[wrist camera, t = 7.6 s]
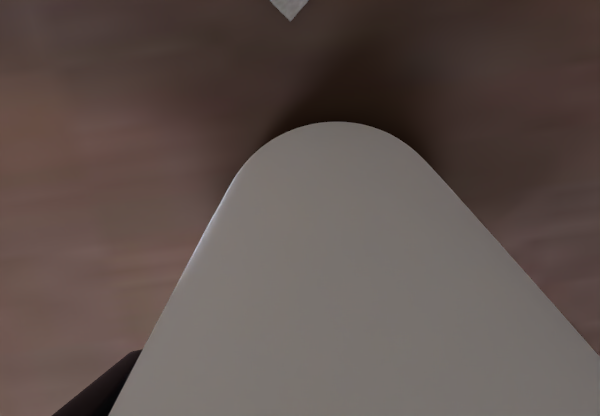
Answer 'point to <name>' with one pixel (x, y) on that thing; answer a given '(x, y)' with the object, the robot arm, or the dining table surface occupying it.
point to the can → (355, 299)
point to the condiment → (289, 7)
